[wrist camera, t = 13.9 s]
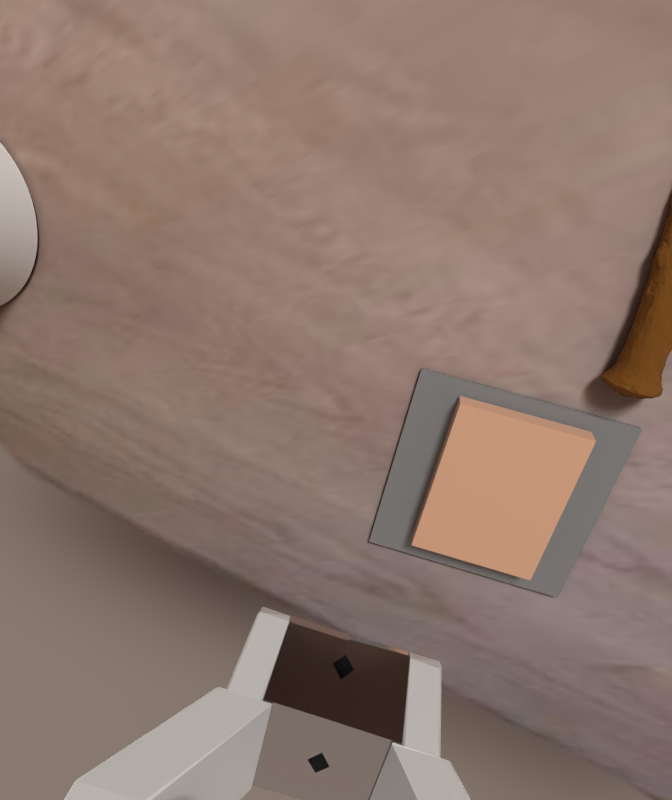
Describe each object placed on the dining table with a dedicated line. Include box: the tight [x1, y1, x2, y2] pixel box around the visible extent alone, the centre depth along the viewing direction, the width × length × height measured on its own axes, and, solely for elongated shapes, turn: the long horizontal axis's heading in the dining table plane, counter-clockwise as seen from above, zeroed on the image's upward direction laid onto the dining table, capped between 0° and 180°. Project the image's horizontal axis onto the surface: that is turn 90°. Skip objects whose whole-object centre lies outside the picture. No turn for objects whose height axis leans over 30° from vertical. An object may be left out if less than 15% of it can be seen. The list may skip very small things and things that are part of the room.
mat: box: [369, 368, 642, 597], centre depth 42 cm, size 15×15×1 cm
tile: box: [412, 396, 596, 580], centre depth 41 cm, size 9×2×12 cm
